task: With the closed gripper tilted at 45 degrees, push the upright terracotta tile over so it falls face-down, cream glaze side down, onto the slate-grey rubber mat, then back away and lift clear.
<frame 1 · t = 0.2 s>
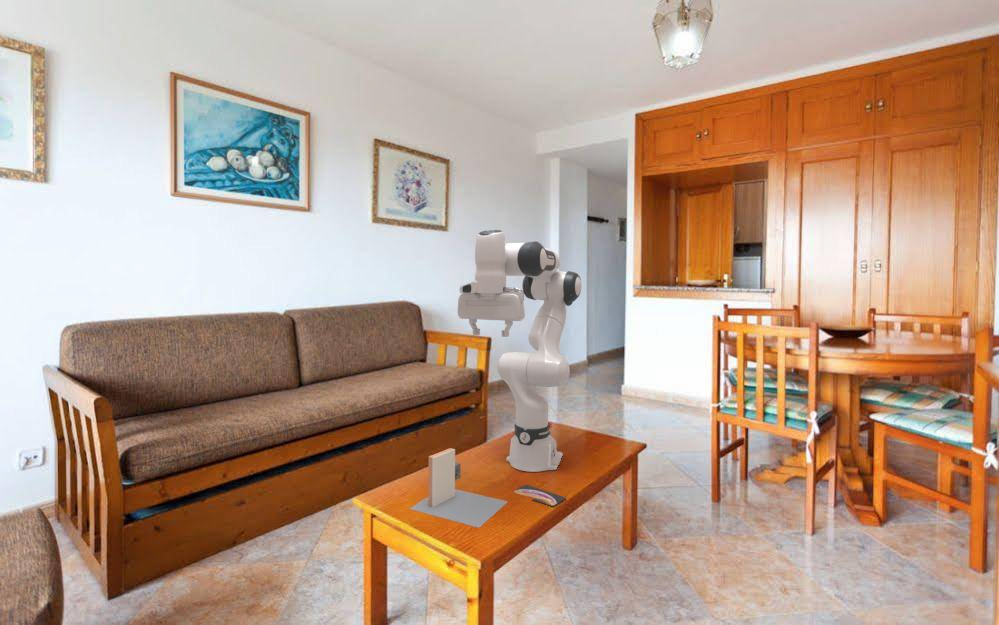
hand: (490, 335, 141), 48 cm above the table, tool pointing down, fingers open, 8 cm apart
smartphone: (538, 498, 147), on the table
tile: (441, 500, 142), resting on mat
dice cube: (449, 479, 159), on the table
mat: (459, 506, 140), on the table
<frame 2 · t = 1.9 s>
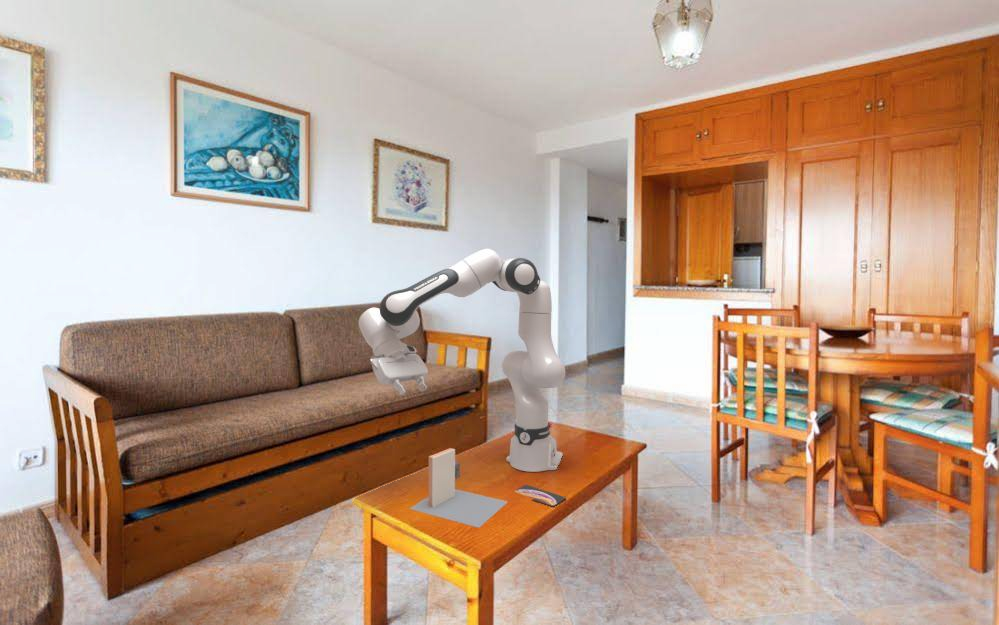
hand: (414, 391, 147), 30 cm above the table, tool tilted 40°, fingers open, 8 cm apart
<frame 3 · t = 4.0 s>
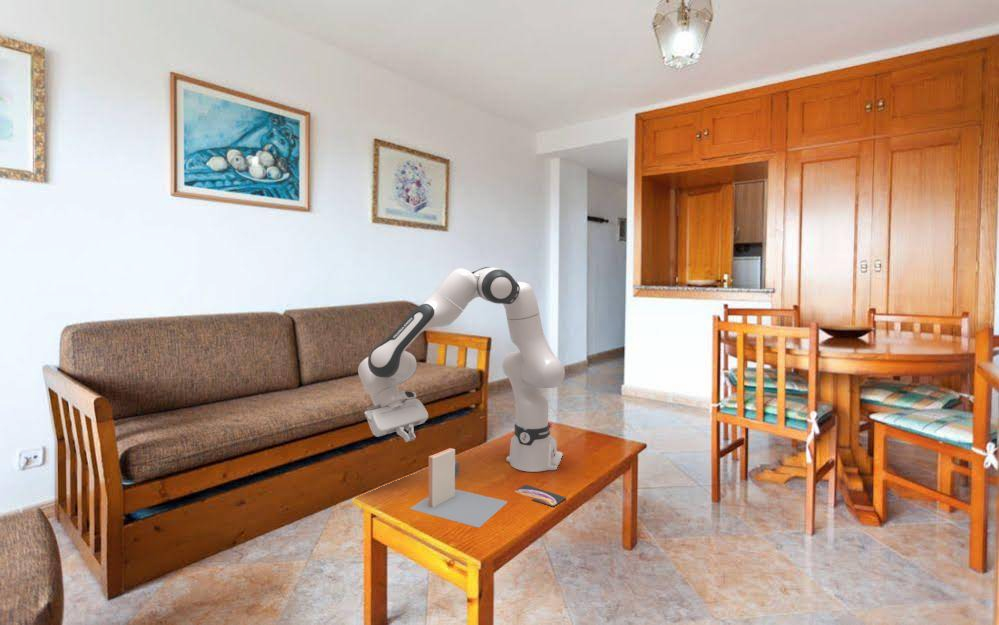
hand: (411, 439, 149), 16 cm above the table, tool tilted 45°, fingers closed
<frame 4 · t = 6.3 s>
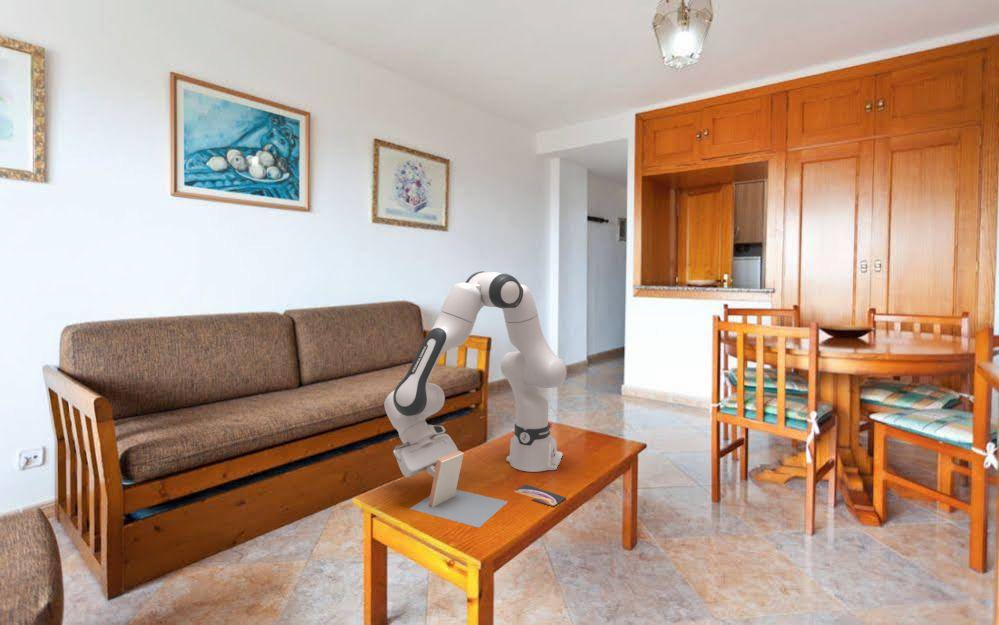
hand: (442, 479, 142), 7 cm above the table, tool tilted 45°, fingers closed
tile: (441, 499, 142), point 1 cm above the table, tilted 14°, touching mat
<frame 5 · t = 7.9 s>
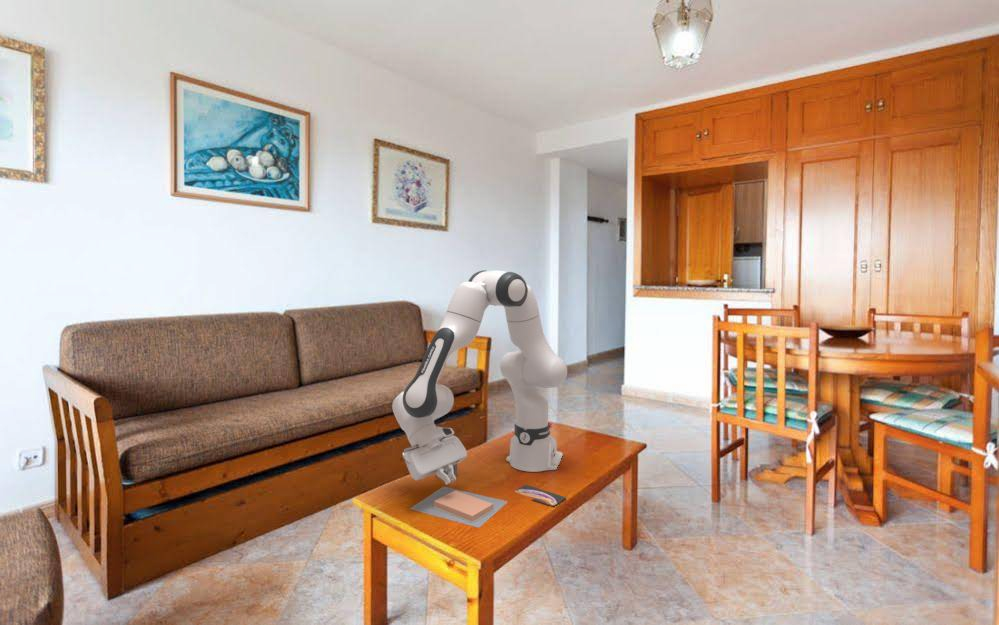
hand: (451, 482, 140), 7 cm above the table, tool tilted 45°, fingers closed
tile: (444, 498, 141), point 1 cm above the table, tilted 90°, touching mat
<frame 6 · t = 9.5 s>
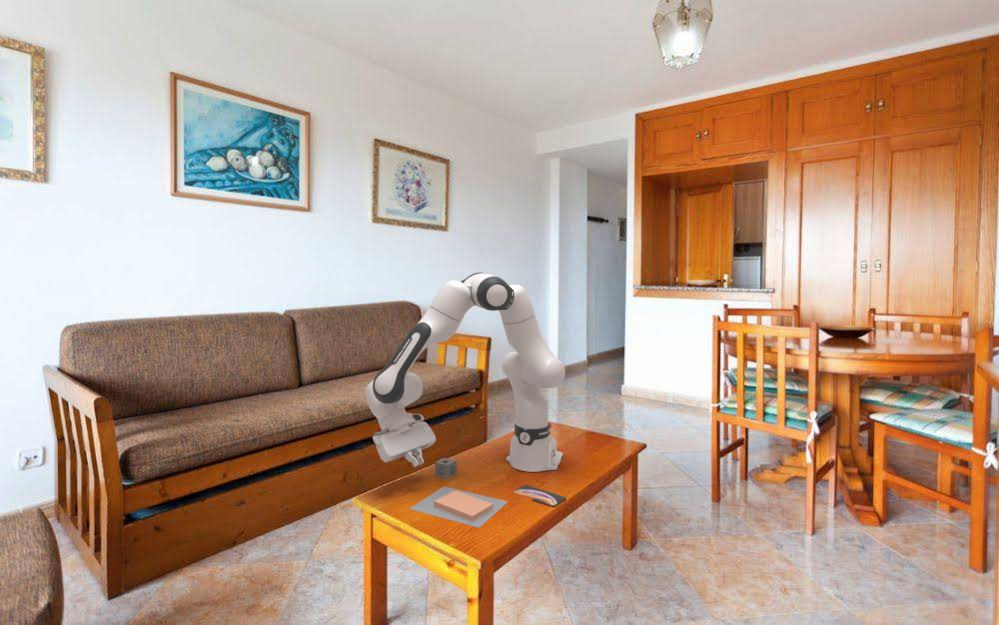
hand: (419, 464, 147), 9 cm above the table, tool tilted 45°, fingers closed
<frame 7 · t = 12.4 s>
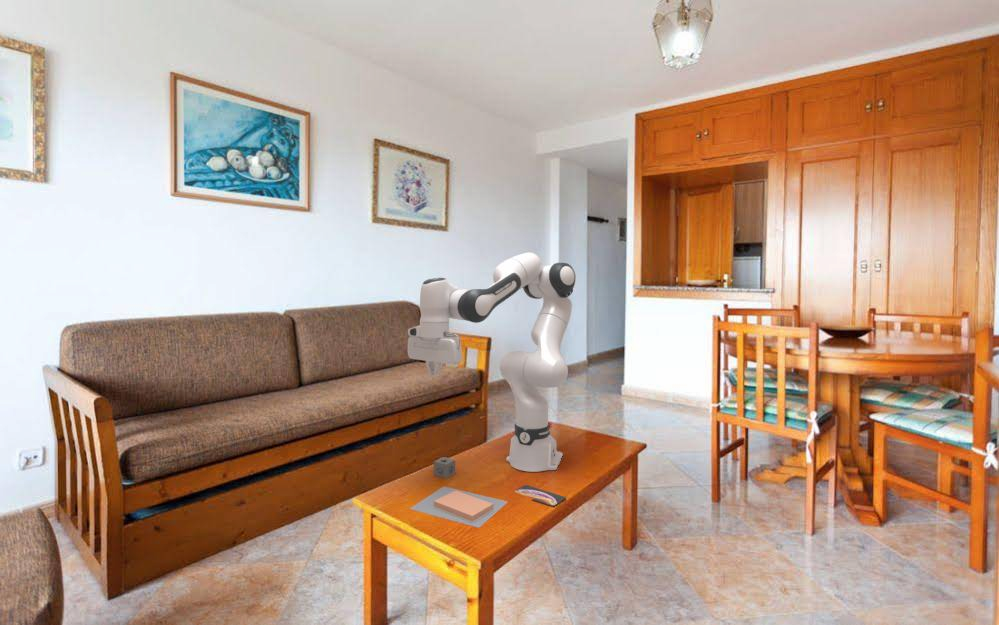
hand: (434, 376, 152), 34 cm above the table, tool pointing down, fingers closed
at the end: tile tilted 90°; tile inside the target area on the mat (4.8 cm from its centre), point 1.3 cm above the mat's base; tile touching mat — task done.
